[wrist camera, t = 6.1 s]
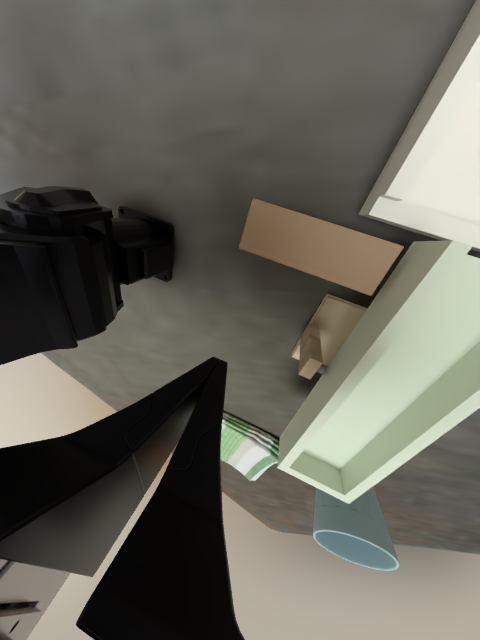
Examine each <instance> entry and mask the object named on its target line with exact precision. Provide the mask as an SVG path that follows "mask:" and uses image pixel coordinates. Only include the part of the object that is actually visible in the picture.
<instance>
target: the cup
mask: <svg viewBox="0 0 480 640" xmlns="http://www.w3.org/2000/svg"><path fill="white" fill-rule="evenodd" d="M313 537H314V539H315V540H316V541H317V543H318V544H320V545H321V546H322V547H324V548H325V549H326V550H328V551H329V552H331V553H333V554H335V555H337V556H339V557H341V558H343V559H345V560H347V561H350V562H352V563H355V564H358V565H361V566H365V567H368V568H372V569H377V570H385V571H390V570H396V569H397V568H398V567H399V562H398V559H397V556H396V553H395V550H394V547H393V544H392V541H391V538H390V535H389V532H388V530H387V527H386V524H385V521H384V518H383V515H382V512H381V509H380V506H379V503H378V500H377V497H376V494H375V491H374V488H373V487H371V488H370V489H369V490H367V491H366V492H364V493H363V494H362V495H360V496H359V497H358V498H356V499H355V500H354V501H352V502H351V503H350V504H348V503H346V502H344V501H342V500H340V499H338V498H336V497H334V496H332V495H330V494H328V493H326V492H324V491H322V490H320V489H318V488H316V497H315V512H314V527H313Z"/></svg>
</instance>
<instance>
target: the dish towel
mask: <svg viewBox="0 0 480 640" xmlns="http://www.w3.org/2000/svg"><path fill="white" fill-rule="evenodd" d="M279 441H280V440H278V439H276V438H275V437H273V436H271V435H269V434H268V433H266V432H264V431H262V430H260V429H258V428H256V427H254V426H252V425H251V424H249V423H247V422H245V421H243V420H241V419H239V418H237V417H235V416H233V415H231V414H229V413H226V412H225V411H223V420H222V432H221V460H222V461H224V462H226V463H228V464H230V465H232V466H233V467H234V468H235V469H237V470H239V471H240V472H241V473H242V474H243V475H244V476H245V477H246V478H247V479H248V480H250V481H251V480H253V481H255V480H257V478H258V477H260V475H261V474H262V473H264V471H265V470H266V469H267V468H269V467H270V466H271V465H273V464H276V463H278V454H279Z"/></svg>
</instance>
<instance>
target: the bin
mask: <svg viewBox="0 0 480 640" xmlns="http://www.w3.org/2000/svg"><path fill="white" fill-rule="evenodd" d="M358 215H360V216H364V217H367V218H370V219H373V220H377V221H380V222H383V223H386V224H390V225H393V226H396V227H399V228H402V229H406V230H409V231H412V232H415V233H419V234H422V235H425V236H428V237H432V238H435V239H438V240H441V241H446V240H454V241H457V242H460V243H464V244H467V245H470V246H473V247H472V248H471V249H470V250H474V251H477V252H480V0H476V1H475V3H474V4H473V6H472V8H471V10H470V12H469V14H468V15H467V17H466V19H465V21H464V23H463V24H462V26H461V28H460V30H459V32H458V34H457V35H456V37H455V39H454V41H453V43H452V45H451V46H450V48H449V50H448V52H447V54H446V55H445V57H444V59H443V61H442V63H441V65H440V66H439V68H438V70H437V72H436V74H435V75H434V77H433V79H432V81H431V83H430V85H429V86H428V88H427V90H426V92H425V94H424V95H423V97H422V99H421V101H420V103H419V105H418V106H417V108H416V110H415V112H414V114H413V115H412V117H411V119H410V121H409V123H408V125H407V126H406V128H405V130H404V132H403V134H402V135H401V137H400V139H399V141H398V143H397V145H396V146H395V148H394V150H393V152H392V154H391V155H390V157H389V159H388V161H387V163H386V165H385V166H384V168H383V170H382V172H381V174H380V176H379V177H378V179H377V181H376V183H375V185H374V186H373V188H372V190H371V192H370V194H369V196H368V197H367V199H366V201H365V203H364V205H363V206H362V208H361V210H360V212H359V214H358Z"/></svg>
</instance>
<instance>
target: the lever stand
mask: <svg viewBox="0 0 480 640" xmlns="http://www.w3.org/2000/svg"><path fill="white" fill-rule="evenodd" d="M367 309H368V308H365V307H362V306H360V305H357V304H354V303H352V302H349V301H346V300H344V299H341V298H338V297H335V296H333V295H330V294H326V296H325V297H324V299H323V301H322V302H321V304H320V306H319V308H318V309H317V311H316V313H315V314H314V316H313V318H312V319H311V321H310V322H309V323H308V325H307V327H306V328H305V330H304V332H303V334H302V335H301V338H300V340H299V341H298V343H297V345H296V346H295V348H294V350H293V351H292V357H293V358H296V359H298V360H299V373H298V374H299V375H301V376H303V377H305V378H308V379H311V378H312V377H313V375H314V374H315V373H316V372H317V373H320V374H322V375H324V374H325V373H326V370H327V367H328V366H329V364H330V363H331V361H332V360H333V359H334V357H335V356H336V354H337V353H338V351H339V350H340V348H341V347H342V345H343V344H344V342H345V341H346V340H347V338H348V337H349V335H350V334H351V332H352V331H353V329H354V328H355V326H356V325H357V323H358V322H359V320H360V319H361V318H362V316H363V315H364V313H365V312H366V310H367Z"/></svg>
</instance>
